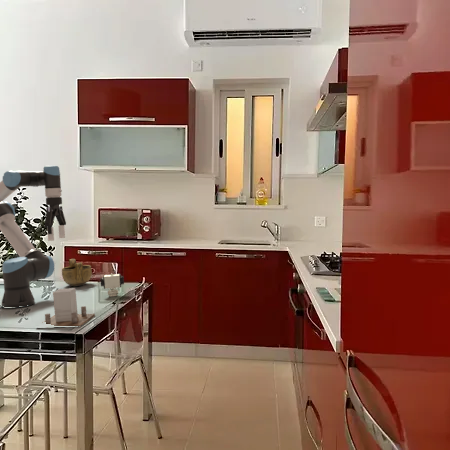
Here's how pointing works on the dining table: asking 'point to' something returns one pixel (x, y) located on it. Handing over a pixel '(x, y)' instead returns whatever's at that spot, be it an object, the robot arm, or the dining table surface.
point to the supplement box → (64, 304)
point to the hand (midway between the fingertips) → (56, 239)
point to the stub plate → (69, 323)
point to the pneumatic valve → (112, 283)
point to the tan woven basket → (76, 273)
